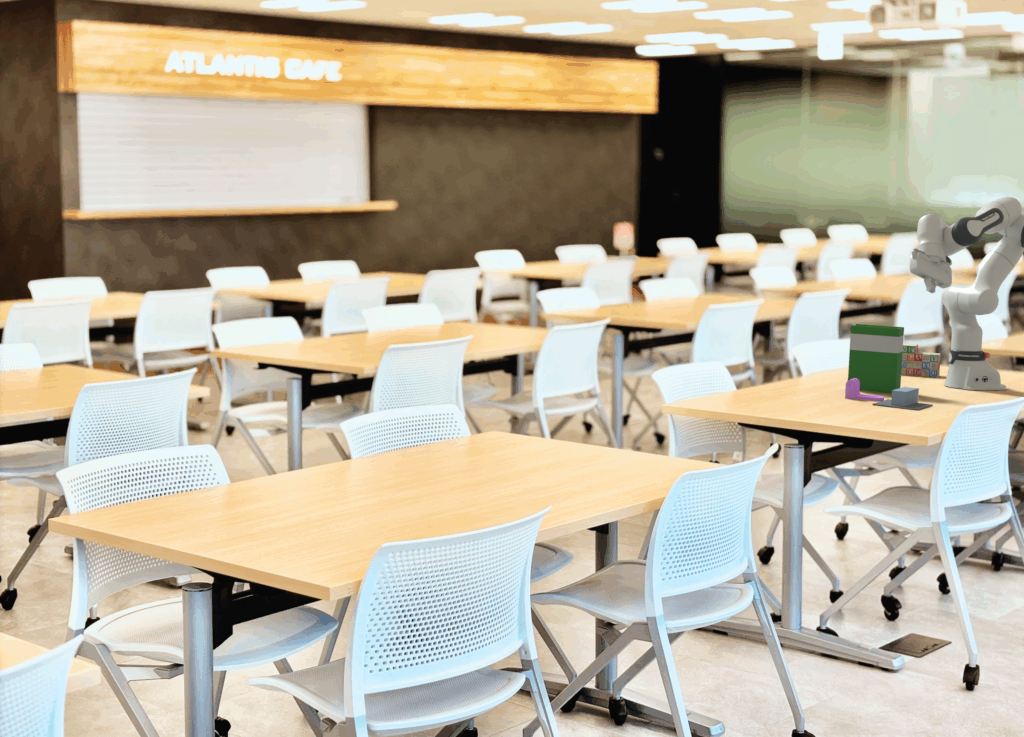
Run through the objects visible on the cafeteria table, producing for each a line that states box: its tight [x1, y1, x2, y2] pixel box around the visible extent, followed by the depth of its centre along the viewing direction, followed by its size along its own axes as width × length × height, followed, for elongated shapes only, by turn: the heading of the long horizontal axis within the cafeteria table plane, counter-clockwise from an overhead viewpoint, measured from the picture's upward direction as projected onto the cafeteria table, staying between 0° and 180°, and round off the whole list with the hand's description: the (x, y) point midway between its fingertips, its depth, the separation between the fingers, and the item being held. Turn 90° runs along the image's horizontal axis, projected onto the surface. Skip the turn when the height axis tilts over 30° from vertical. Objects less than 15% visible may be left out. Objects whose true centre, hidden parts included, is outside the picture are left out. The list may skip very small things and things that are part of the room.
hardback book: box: [847, 323, 905, 395], centre depth 489 cm, size 18×7×24 cm, turn 61°
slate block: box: [890, 386, 920, 406], centre depth 459 cm, size 5×5×12 cm
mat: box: [871, 398, 934, 411], centre depth 458 cm, size 14×16×1 cm
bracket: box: [844, 378, 885, 402], centre depth 470 cm, size 13×6×7 cm, turn 62°
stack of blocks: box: [901, 343, 942, 378], centre depth 536 cm, size 21×6×12 cm, turn 62°
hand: (930, 291), depth 467 cm, fingers closed
